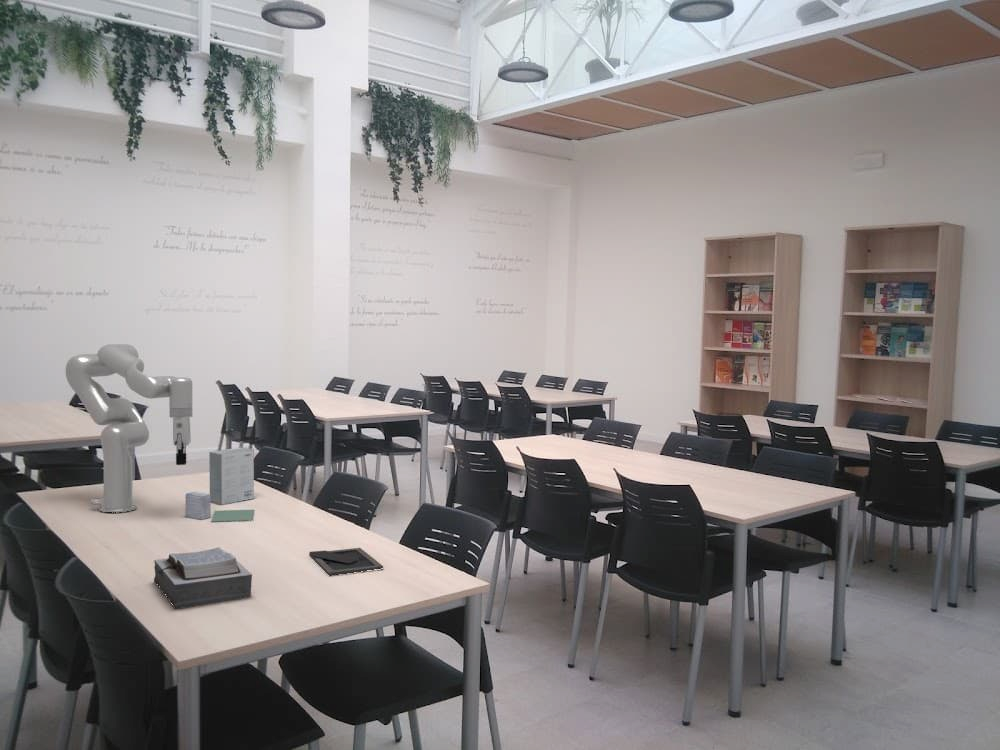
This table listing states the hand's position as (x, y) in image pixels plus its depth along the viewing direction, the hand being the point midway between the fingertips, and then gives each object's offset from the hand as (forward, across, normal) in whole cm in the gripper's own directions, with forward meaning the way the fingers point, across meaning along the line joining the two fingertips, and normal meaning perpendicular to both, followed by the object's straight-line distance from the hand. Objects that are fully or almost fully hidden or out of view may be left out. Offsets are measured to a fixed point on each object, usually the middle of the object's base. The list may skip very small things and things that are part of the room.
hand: (181, 464), depth 283 cm
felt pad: (+19, 0, -18) cm, 26 cm away
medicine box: (+20, 0, -6) cm, 20 cm away
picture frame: (+21, -63, -52) cm, 84 cm away
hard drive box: (+19, +26, -16) cm, 36 cm away
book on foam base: (+21, -80, -14) cm, 84 cm away
